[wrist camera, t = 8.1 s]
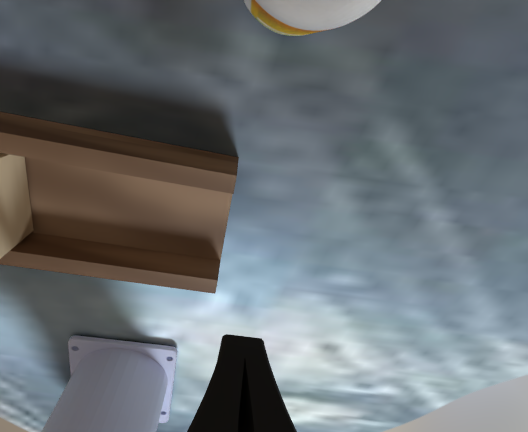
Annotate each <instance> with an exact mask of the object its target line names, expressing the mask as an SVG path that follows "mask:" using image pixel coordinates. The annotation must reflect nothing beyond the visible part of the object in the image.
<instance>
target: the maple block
mask: <svg viewBox="0 0 528 432" xmlns="http://www.w3.org/2000/svg"><path fill="white" fill-rule="evenodd" d="M33 230H34V229H33V221H32V213H31V205H30V197H29V189H28V181H27V173H26V165H25V157H21V156H15V155H10V154H4V153H0V259H1V258H2V257H3V256H4V255H5V254H7V253H8V252H9V251H10V250H11V249H12V248H14V247H15V246H16V245H17V244H18V243H19V242H21V241H22V240H23V239H24V238H25V237H26V236H28V235H29V234H30V233H31V232H32V231H33Z"/></svg>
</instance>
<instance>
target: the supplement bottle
mask: <svg viewBox="0 0 528 432" xmlns="http://www.w3.org/2000/svg"><path fill="white" fill-rule="evenodd" d="M380 1H381V0H244V2H245V4H246V6H247V8H248V9H249V11H250V12H251V14H252V15H253V16H254V17H255V18H256V19H257V20H258V21H259V22H260V23H261V24H262V25H264V26H265V27H267V28H268V29H270V30H272V31H274V32H276V33H279V34H282V35H288V36H301V35H307V34H311V33H316V32H320V31H326V30H330V29H334V28H338V27H341V26H344V25H346V24H348V23H351V22H353V21H355V20H356V19H358V18H360V17H361V16H363V15H365V14H366V13H367V12H369V11H370V10H371V9H373V8H374V7H375V6H376V5H377V4H378V3H379V2H380Z"/></svg>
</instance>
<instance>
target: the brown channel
mask: <svg viewBox="0 0 528 432" xmlns="http://www.w3.org/2000/svg"><path fill="white" fill-rule="evenodd" d="M0 153H4V154H10V155H15V156H21V157H25V165H26V173H27V181H28V189H29V197H30V205H31V213H32V221H33V229H34V230H33V231H32V232H31V233H30V234H29V235H28V236H26V237H25V238H24V239H23V240H22V241H21V242H19V243H18V244H17V245H16V246H15V247H14V248H12V249H11V250H10V251H9V252H8V253H7V254H5V255H4V256H3V257H2V258H1V259H0V264H2V265H10V266H17V267H24V268H32V269H39V270H46V271H54V272H61V273H68V274H76V275H83V276H90V277H98V278H105V279H113V280H120V281H127V282H135V283H142V284H149V285H157V286H164V287H171V288H179V289H186V290H193V291H201V292H208V293H215V292H216V286H217V281H218V274H219V266H220V259H221V254H222V248H223V243H224V237H225V232H226V226H227V221H228V215H229V210H230V204H231V199H232V194H233V193H234V187H235V182H236V177H237V167H238V158H239V157H234V156H229V155H224V154H218V153H213V152H208V151H203V150H198V149H192V148H187V147H182V146H177V145H171V144H166V143H161V142H156V141H151V140H145V139H140V138H135V137H130V136H124V135H119V134H114V133H109V132H104V131H98V130H93V129H88V128H83V127H77V126H72V125H67V124H62V123H57V122H51V121H46V120H41V119H36V118H30V117H25V116H20V115H15V114H9V113H4V112H0Z"/></svg>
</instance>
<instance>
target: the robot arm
mask: <svg viewBox="0 0 528 432" xmlns="http://www.w3.org/2000/svg"><path fill="white" fill-rule="evenodd" d="M68 350H69V361H70V373H71V378H70V380H69V382H68V384H67V386H66V387H65V389H64V391H63V393H62V395H61V397H60V398H59V400H58V402H57V404H56V406H55V408H54V410H53V411H52V413H51V415H50V417H49V419H48V421H47V423H46V424H45V426H44V428H43V430H42V432H156V431H157V427H158V423H165V422H167V421H168V419H169V414H170V406H171V398H172V390H173V383H174V375H175V367H176V359H177V352H178V351H177V349H176V348H175V347H173V346H165V345H156V344H147V343H139V342H130V341H121V340H112V339H103V338H95V337H86V336H77V335H76V336H72V337H70V339H69V341H68ZM187 432H297V431H296V429H295V427H294V425H293V423H292V420H291V418H290V416H289V414H288V411H287V409H286V407H285V404H284V402H283V399H282V397H281V394H280V392H279V389H278V386H277V384H276V381H275V378H274V375H273V372H272V369H271V366H270V363H269V360H268V357H267V353H266V350H265V346H264V341H263V340H262V339H260V338H252V337H244V336H235V335H227V334H226V335H224V336H223V337H222V341H221V346H220V351H219V355H218V360H217V364H216V367H215V370H214V373H213V375H212V378H211V380H210V383H209V385H208V388H207V390H206V393H205V395H204V397H203V400H202V402H201V404H200V406H199V408H198V410H197V413H196V415H195V417H194V419H193V421H192V423H191V425H190V427H189V429H188V431H187Z"/></svg>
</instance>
